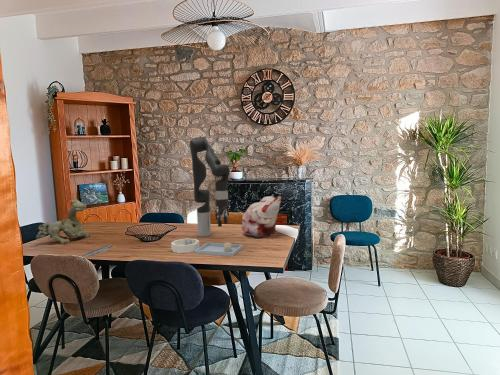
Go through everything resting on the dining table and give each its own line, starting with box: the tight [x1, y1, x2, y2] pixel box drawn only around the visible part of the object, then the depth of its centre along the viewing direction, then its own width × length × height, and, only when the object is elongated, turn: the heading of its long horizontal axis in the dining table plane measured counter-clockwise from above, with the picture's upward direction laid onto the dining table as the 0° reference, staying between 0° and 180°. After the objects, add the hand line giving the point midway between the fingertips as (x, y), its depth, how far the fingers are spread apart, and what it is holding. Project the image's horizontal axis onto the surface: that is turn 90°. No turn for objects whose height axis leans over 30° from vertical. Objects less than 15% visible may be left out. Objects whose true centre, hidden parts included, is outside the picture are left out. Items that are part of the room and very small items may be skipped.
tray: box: [194, 242, 244, 257], centre depth 223 cm, size 18×24×3 cm
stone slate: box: [185, 238, 192, 245], centre depth 229 cm, size 4×4×5 cm
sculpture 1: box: [35, 198, 91, 245], centre depth 257 cm, size 29×27×30 cm
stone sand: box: [223, 241, 232, 252], centre depth 221 cm, size 4×4×5 cm
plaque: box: [81, 245, 117, 259], centre depth 227 cm, size 33×10×1 cm, turn 163°
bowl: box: [170, 238, 201, 254], centre depth 227 cm, size 16×16×5 cm
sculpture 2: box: [241, 195, 282, 238], centre depth 262 cm, size 31×29×30 cm
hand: (222, 225), depth 219 cm, fingers open, 8 cm apart
